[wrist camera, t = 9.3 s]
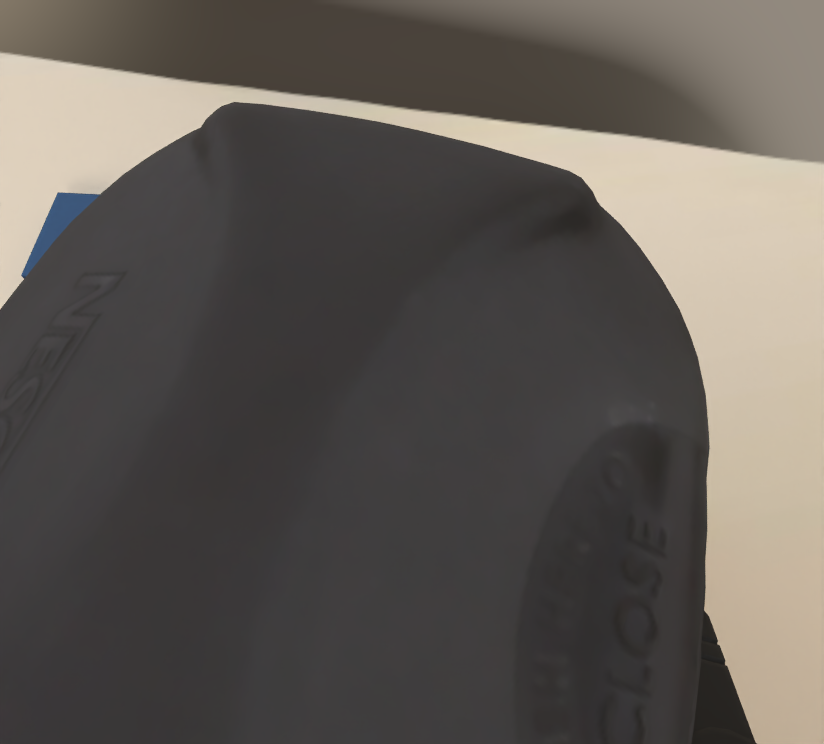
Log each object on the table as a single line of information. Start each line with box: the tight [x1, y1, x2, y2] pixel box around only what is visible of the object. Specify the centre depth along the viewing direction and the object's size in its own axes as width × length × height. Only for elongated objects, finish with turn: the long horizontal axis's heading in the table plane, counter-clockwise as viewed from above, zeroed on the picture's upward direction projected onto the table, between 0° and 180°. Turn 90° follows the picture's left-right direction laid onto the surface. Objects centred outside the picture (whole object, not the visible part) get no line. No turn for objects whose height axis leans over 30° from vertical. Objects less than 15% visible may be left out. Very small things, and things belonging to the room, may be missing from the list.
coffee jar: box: [0, 102, 709, 744], centre depth 12 cm, size 10×8×19 cm
